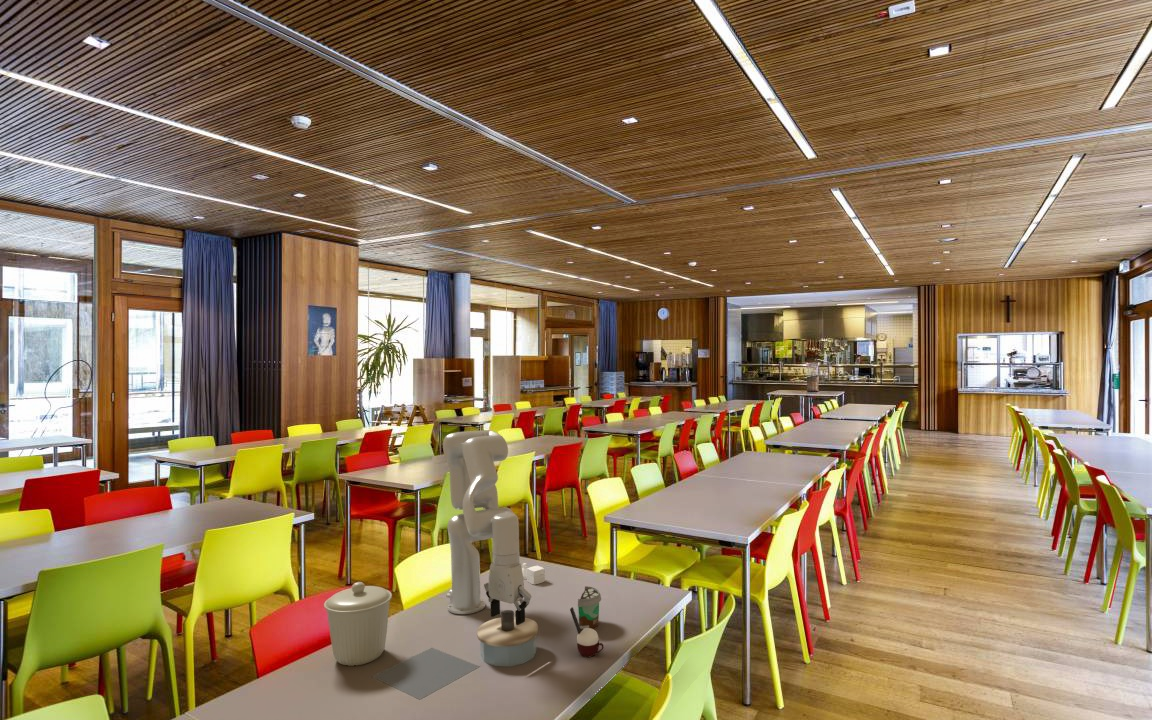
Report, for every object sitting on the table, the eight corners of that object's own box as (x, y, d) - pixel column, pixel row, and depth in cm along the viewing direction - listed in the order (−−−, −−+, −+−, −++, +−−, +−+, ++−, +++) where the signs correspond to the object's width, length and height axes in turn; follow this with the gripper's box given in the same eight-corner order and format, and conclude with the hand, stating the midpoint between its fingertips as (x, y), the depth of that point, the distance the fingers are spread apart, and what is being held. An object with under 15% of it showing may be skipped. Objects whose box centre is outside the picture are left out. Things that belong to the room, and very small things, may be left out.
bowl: (470, 657, 169) (469, 636, 169) (507, 638, 181) (507, 618, 181) (509, 672, 160) (508, 649, 160) (546, 651, 172) (545, 629, 172)
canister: (367, 677, 160) (365, 596, 160) (310, 669, 165) (309, 591, 166) (405, 646, 177) (404, 574, 178) (353, 640, 182) (351, 570, 183)
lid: (464, 636, 169) (464, 616, 169) (506, 616, 182) (506, 597, 183) (509, 652, 159) (508, 630, 159) (550, 629, 172) (549, 608, 172)
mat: (371, 677, 159) (371, 676, 159) (431, 648, 175) (431, 647, 175) (419, 701, 147) (419, 699, 147) (480, 667, 163) (480, 666, 163)
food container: (598, 634, 182) (597, 600, 182) (578, 633, 183) (577, 599, 183) (604, 617, 194) (604, 586, 194) (586, 616, 195) (585, 585, 195)
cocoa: (606, 655, 169) (607, 612, 169) (591, 663, 164) (592, 618, 164) (581, 644, 175) (582, 602, 176) (566, 651, 171) (567, 608, 171)
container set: (545, 582, 229) (544, 568, 229) (533, 586, 225) (533, 571, 226) (517, 570, 244) (516, 556, 245) (506, 572, 241) (505, 559, 241)
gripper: (475, 556, 173) (476, 617, 173) (519, 567, 163) (521, 631, 162) (493, 550, 179) (495, 608, 179) (538, 559, 169) (539, 621, 168)
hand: (507, 619), depth 171 cm, fingers open, 9 cm apart
